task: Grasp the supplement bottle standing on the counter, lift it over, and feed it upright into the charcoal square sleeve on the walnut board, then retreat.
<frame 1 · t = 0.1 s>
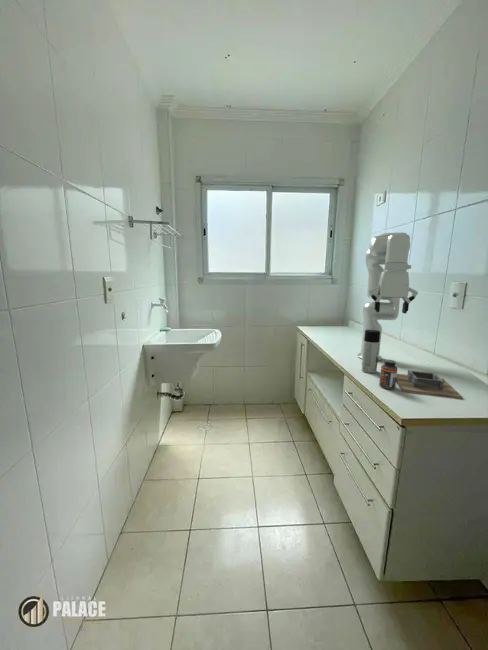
hand: (390, 312, 108), 31 cm above the table, fingers open, 9 cm apart
supplement bottle: (387, 387, 114), on the table
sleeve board: (423, 385, 116), on the table
spray can: (368, 371, 133), on the table
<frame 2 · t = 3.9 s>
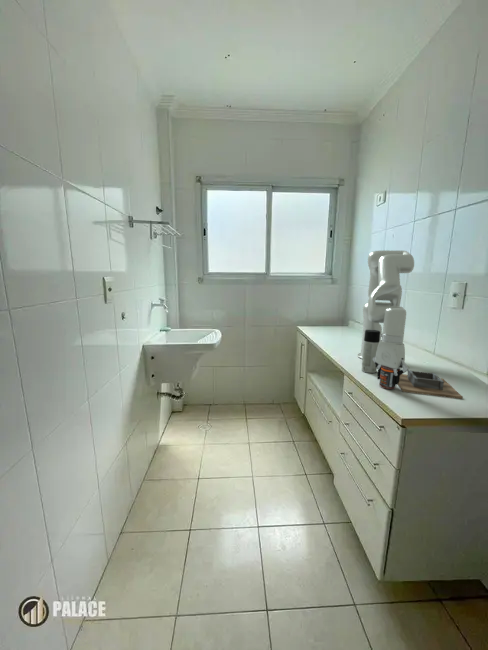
hand: (387, 381, 113), 3 cm above the table, fingers closed on supplement bottle, 6 cm apart
supplement bottle: (387, 387, 114), on the table, touching gripper
everything else where it was.
when the fingers open (6 cm above the table, at t = 10.0 s): supplement bottle drops 2 cm, resting on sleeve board.
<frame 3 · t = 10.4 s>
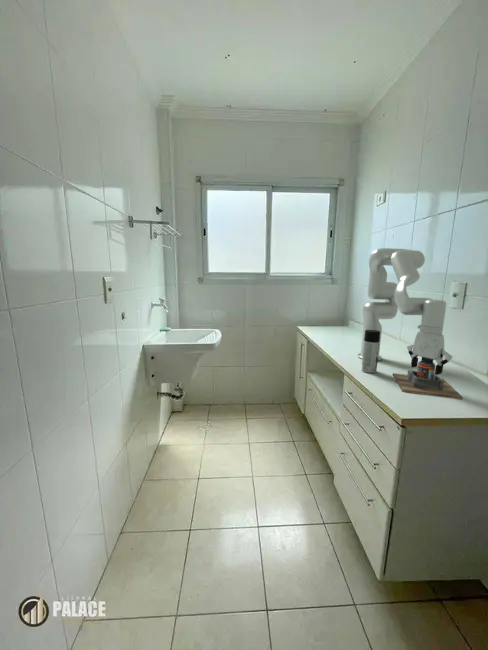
hand: (425, 370, 115), 7 cm above the table, fingers open, 9 cm apart
supplement bottle: (424, 383, 116), point 1 cm above the table, touching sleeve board
everything else where it was.
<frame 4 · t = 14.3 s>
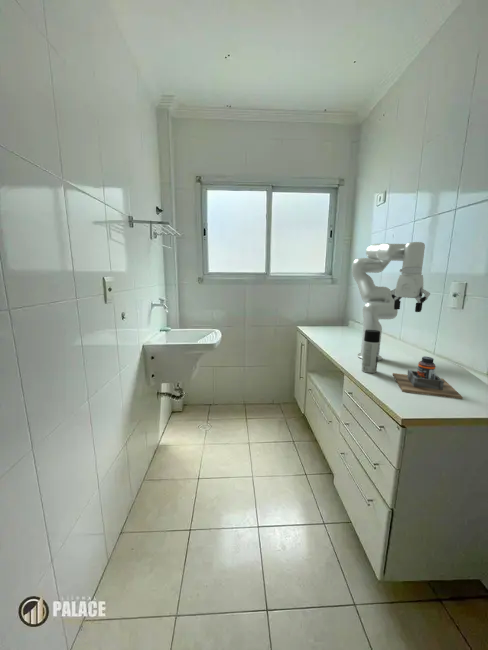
hand: (407, 310, 123), 30 cm above the table, fingers open, 9 cm apart
nothing on the table moved.
at the end: supplement bottle 0.1 cm off-centre on the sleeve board, point 0.8 cm above the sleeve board's base; supplement bottle tilted 0°; the gripper is holding nothing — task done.
